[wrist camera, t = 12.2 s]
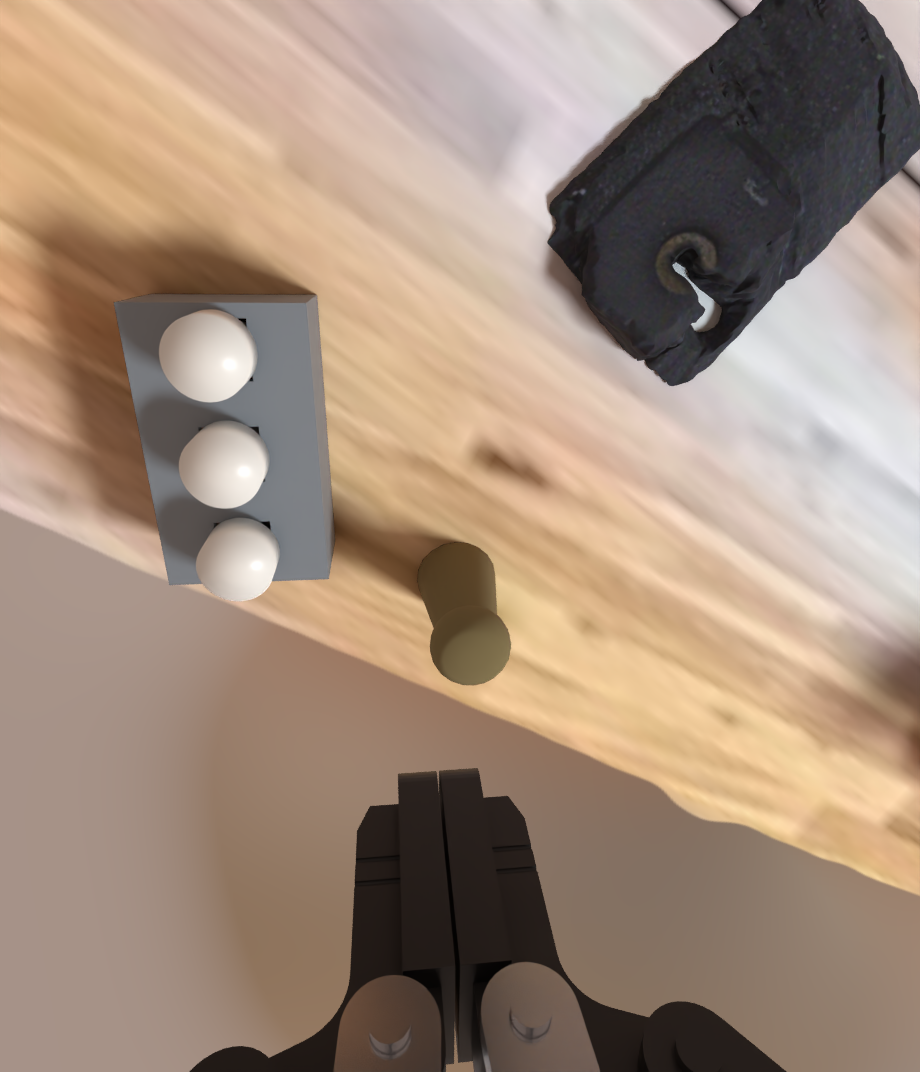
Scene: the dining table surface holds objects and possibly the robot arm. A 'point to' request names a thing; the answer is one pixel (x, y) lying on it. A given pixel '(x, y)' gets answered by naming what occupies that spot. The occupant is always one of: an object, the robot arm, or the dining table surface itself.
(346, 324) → the dining table surface
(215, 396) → the knob near
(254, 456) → the knob middle
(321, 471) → the mount block
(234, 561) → the knob far
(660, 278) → the dark slate chunk
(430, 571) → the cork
